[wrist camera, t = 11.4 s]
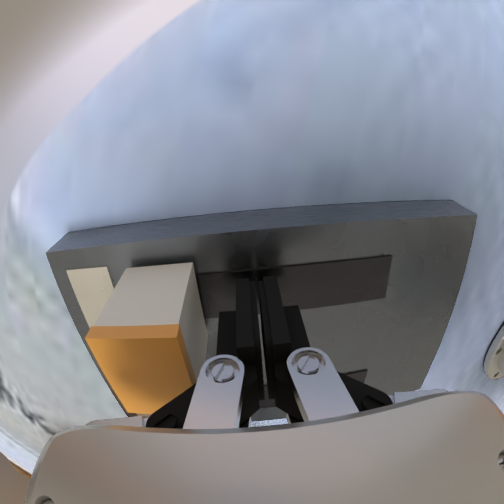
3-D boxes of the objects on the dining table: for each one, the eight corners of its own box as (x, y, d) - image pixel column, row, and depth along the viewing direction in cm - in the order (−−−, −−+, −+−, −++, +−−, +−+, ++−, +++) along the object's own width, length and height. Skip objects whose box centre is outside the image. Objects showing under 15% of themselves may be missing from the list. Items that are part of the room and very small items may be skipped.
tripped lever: (193, 261, 12) (176, 337, 8) (208, 335, 14) (203, 414, 10) (125, 267, 12) (84, 337, 8) (148, 338, 14) (127, 412, 10)
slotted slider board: (451, 199, 15) (478, 215, 12) (408, 366, 21) (420, 389, 18) (67, 232, 14) (44, 253, 12) (137, 396, 20) (130, 422, 18)
